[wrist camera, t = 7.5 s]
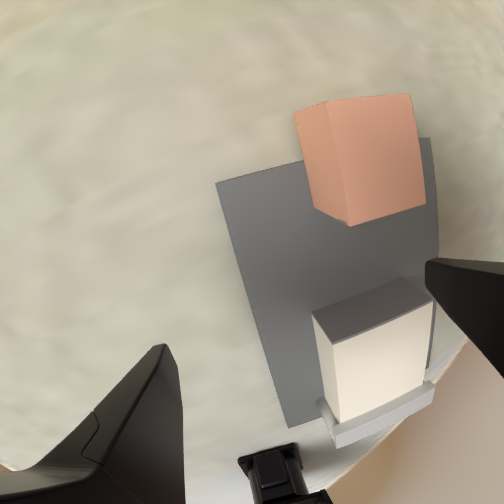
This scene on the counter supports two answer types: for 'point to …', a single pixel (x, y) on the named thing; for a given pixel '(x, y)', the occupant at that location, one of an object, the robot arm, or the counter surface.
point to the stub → (362, 157)
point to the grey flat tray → (337, 300)
